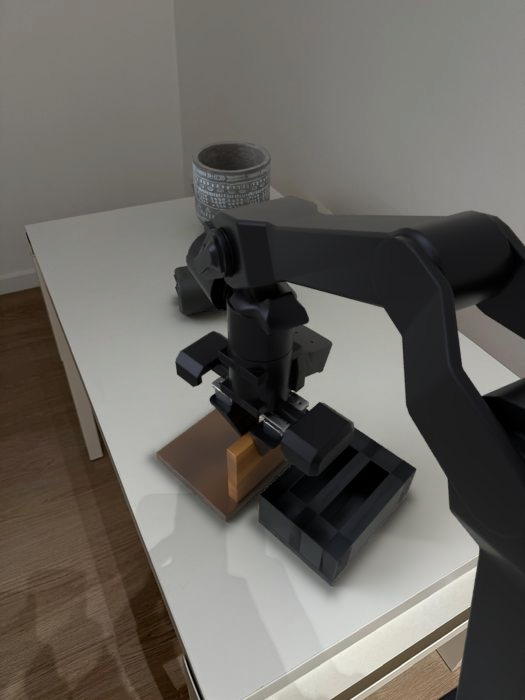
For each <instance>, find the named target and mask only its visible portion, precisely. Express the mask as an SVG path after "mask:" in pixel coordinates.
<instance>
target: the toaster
mask: <svg viewBox="0 0 525 700" xmlns="http://www.w3.org/2000/svg"><path fill="white" fill-rule="evenodd" d="M354 429H355V432H354V436H353V441H352V443H351V444H350V445H349V446H348V447H347V448H346V449H345V450H344V451H342V452H341V453H340V454H339V455H338V456H337V457H336V458H335V459H334V460H333V461H332V462H331V463H330V464H329V465H328V466H327V467H326V468H325V469H324V470H323V471H322V472H321V473H320V474H319V475H318V476H308V475H307V474H305V473H304V472H303V471H301V470H300V469H299V468H297V467H296V466H295V465H294V464H292V463H291V465H290V466H289V467H288V468H286V469H285V470H284V471H283V472H281V474H280V475H278V477H276V479H275V480H273V481H272V483H270V484H269V485H268V486H267V487H266V488H265V489H264V490H263V491H262V492H261V493H259V496H258V497H259V501H258V523H259V524H260V525H261V526H262V527H263V528H264V529H266V530H267V531H268V532H269V533H271V534H272V535H273V536H274V537H275V538H276V539H277V540H278V541H279V542H280V543H281V544H283V545H284V546H285V547H286V548H287V549H289V550H290V552H292V553H293V554H294V555H295V556H297V558H298V559H300V560H301V562H303V563H304V564H305V565H306V566H308V567H309V568H310V569H311V570H312V571H313V572H314V573H315V574H317V575H318V576H319V577H320V578H321V579H322V580H324V582H326V584H328V585H329V586H330V587H333V585H334V584H335V582H336V581H337V580H338V579H339V578H340V577H341V575H342V574H343V573H344V572H345V571H346V569H348V567H350V565H351V564H352V563H353V562H354V560H355V559H356V557H358V555H359V554H360V553H361V552H362V550H363V549H364V548H365V547H366V545H367V544H368V543H369V542H370V541H371V539H372V538H373V537H374V536H375V535H376V534H377V532H378V531H379V530H380V529H381V528H382V527H383V525H384V524H385V523H386V521H388V519H389V518H390V517H391V515H392V514H394V512H395V511H396V510H397V508H398V507H399V506H400V505H401V504H402V502H403V501H404V500H405V499H406V498H407V496H408V493H409V490H410V489H411V485H412V482H413V481H414V477H415V475H416V472H417V470H418V469H417V467H415V466H413V465H412V464H411V463H409V462H407V461H406V460H404V459H402V458H401V457H400V456H398V455H397V454H395V453H394V452H392V451H391V450H389V449H388V448H386V447H385V446H383V445H382V444H381V443H379V442H378V441H376V440H374V439H373V438H371V437H370V436H369V435H367V434H366V433H364V432H363V431H361V430H359V428H357V427H355V426H354Z"/></svg>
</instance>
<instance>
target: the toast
mask: <svg viewBox="0 0 525 700" xmlns="http://www.w3.org/2000/svg"><path fill="white" fill-rule="evenodd" d="M258 424H259V423H258ZM253 428H254V427H253ZM284 460H285V456H284V454H283V452H282V451H281V449H280V445H279V446H278V447H276V448H275V449H270V451H269V452H268V453H267V454H266V455H265V456H263V457H262V456H260V455H259V453H258V451H257V449H256V447H255V445H254V443H253V441H252V439H251V436H250V434H249V432H247V433H246V434H245V435H244V436H242V437H241V438H240V439H239V440H238V441H236V442H235V443H234V444H233V445H231V446H230V447H229V448H228V449H227V467H228V488H229V496H230V497H231V498H232V499H233V500H235V501H236V502H237V503H238V502H239V501H240V500H241V499H242V498H243V497H245V496H246V495H247V494H248V493H249V492H250V491H251V490H252V489H253V488H254V487H256V486H257V485H258V484H259V483H260V482H261V481H262V480H263V479H264V478H265V477H267V476H268V475H269V474H270V473H271V472H272V471H273V470H274V469H275V468H276V467H278V466H279V465H280V464H281V463H282V462H283V461H284Z"/></svg>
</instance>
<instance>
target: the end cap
mask: <svg viewBox="0 0 525 700" xmlns="http://www.w3.org/2000/svg"><path fill="white" fill-rule="evenodd" d="M173 278H174V281H175V283H176V284H175V287H174V290H175V291H176V294H177V301H178V308H179V309H178V310H179V312H180V314H181V315H184V316H187V315H192V314H197V313H202V312H208V311H212V310H217V309H216V308H215V307H214V305H213V304H212V302H211V301H210V299H209V298H208V296H207V295H206V294H205V292H204V291H203V289H202V288H201V286H200V285H199V284H198V282H197V281H196V279H195V278H194V276H193V275H192V273H191V272H190V270H189V269H188V267H187V265H184V266H178V267H176V268H175V269H174V274H173Z"/></svg>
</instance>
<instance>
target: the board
mask: <svg viewBox="0 0 525 700" xmlns="http://www.w3.org/2000/svg"><path fill="white" fill-rule="evenodd" d="M260 422H261V421H259V423H260ZM240 438H241V437H240V436H239V435H238V433H237V432H236V431H235V430H234V428H233V427H232V426H231V425H230V424H229V423H228V422H227V420H226V419H225V418H224V417H223V416H222V415H221V414H220V412H219V411H218V410H217V409H216V408H214V409H213V410H212V411H210V412H209V413H208V414H206V415H205V416H204V417H202V418H201V419H199V420H198V421H196V422H195V423H194V424H193V425H191V426H190V427H189V428H187V429H186V430H184V431H183V432H182V433H181V434H179V435H178V436H177V437H175V438H174V439H173V440H171V441H170V442H169V443H167V444H165V446H163V447H162V448H160V449H159V450H158V451H156V452H155V454H156V459H157V460H158V461H159V462H160V463H161V464H162V465H163V466H164V467H166V468H167V469H168V470H169V471H170V472H171V473H172V475H174V476H175V477H176V478H177V479H178V480H179V481H180V482H181V483H183V484H184V485H185V486H186V487H187V488H188V489H189V490H190V491H191V492H193V494H195V495H196V497H198V498H199V499H200V500H201V501H202V502H203V503H204V504H205V505H206V506H208V507H209V508H210V510H212V511H213V512H214V513H215V514H216V515H217V516H218V517H219V518H221V519H222V520H223V521H224V522H225V523H228V521H229V520H231V518H233V517H234V516H235V515H236V514H237V513H238V512H239V511H240V510H241V509H243V507H244V506H245V505H247V504H248V503H249V502H250V501H251V500H252V499H253V498H254V497H256V495H257V494H259V493H260V492H261V491H262V490H263V489H264V488H265V487H266V486H267V485H268V484H269V483H271V482H273V481H274V479H275V478H277V476H279V474H280V473H282V472H283V471H285V470H286V469H287V467H288V466H289V465H290V464H292V463H291V462H290V461H288V460H287V459H286V458H285V460H284V461H283V462H282V463H281V464H280V465H279V466H278V467H276V468H275V469H274V470H273V471H272V472H271V473H270V474H269V475H268V476H267V477H265V478H264V479H263V480H262V481H261V482H260V483H259V484H258V485H257V486H256V487H254V488H253V489H252V490H251V491H250V492H249V493H248V494H247V495H246V496H245V497H243V498H242V499H241V500H240V501H239V502H238V503H237V502H236V501H235V500H233V499H232V498H231V497H230V496H229V488H228V467H227V449H228V448H229V447H230V446H231V445H233V444H234V443H235V442H236V441H238V440H239V439H240Z"/></svg>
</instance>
